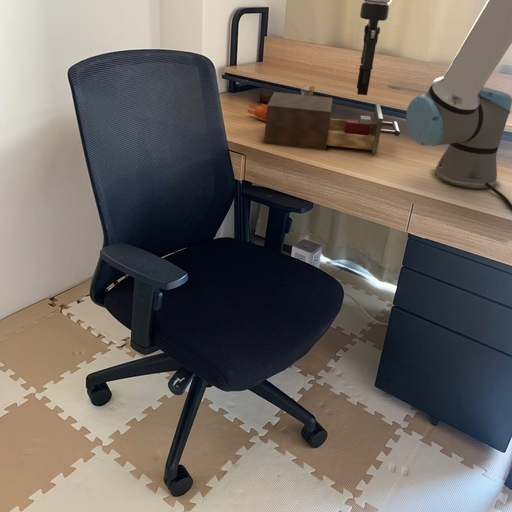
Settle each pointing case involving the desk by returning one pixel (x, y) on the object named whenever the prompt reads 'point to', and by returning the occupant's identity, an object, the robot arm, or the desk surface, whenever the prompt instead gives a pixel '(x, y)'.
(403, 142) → the desk surface
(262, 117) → the orange toy bird
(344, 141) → the drawer
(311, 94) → the utensil holder
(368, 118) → the red base white blocks
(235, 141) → the desk surface
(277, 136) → the cabinet
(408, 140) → the desk surface
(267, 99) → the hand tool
